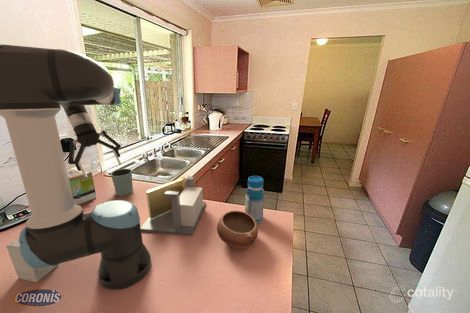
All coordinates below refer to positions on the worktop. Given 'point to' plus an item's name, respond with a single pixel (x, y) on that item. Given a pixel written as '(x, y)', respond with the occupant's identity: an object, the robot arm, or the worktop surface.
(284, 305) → the worktop surface
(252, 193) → the beverage bottle
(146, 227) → the base
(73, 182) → the tea box
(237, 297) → the worktop surface
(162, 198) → the tan rectangular upright panel
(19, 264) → the supplement box
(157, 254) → the worktop surface
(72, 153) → the robot arm
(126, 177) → the drinking glass
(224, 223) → the bowl
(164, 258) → the worktop surface
